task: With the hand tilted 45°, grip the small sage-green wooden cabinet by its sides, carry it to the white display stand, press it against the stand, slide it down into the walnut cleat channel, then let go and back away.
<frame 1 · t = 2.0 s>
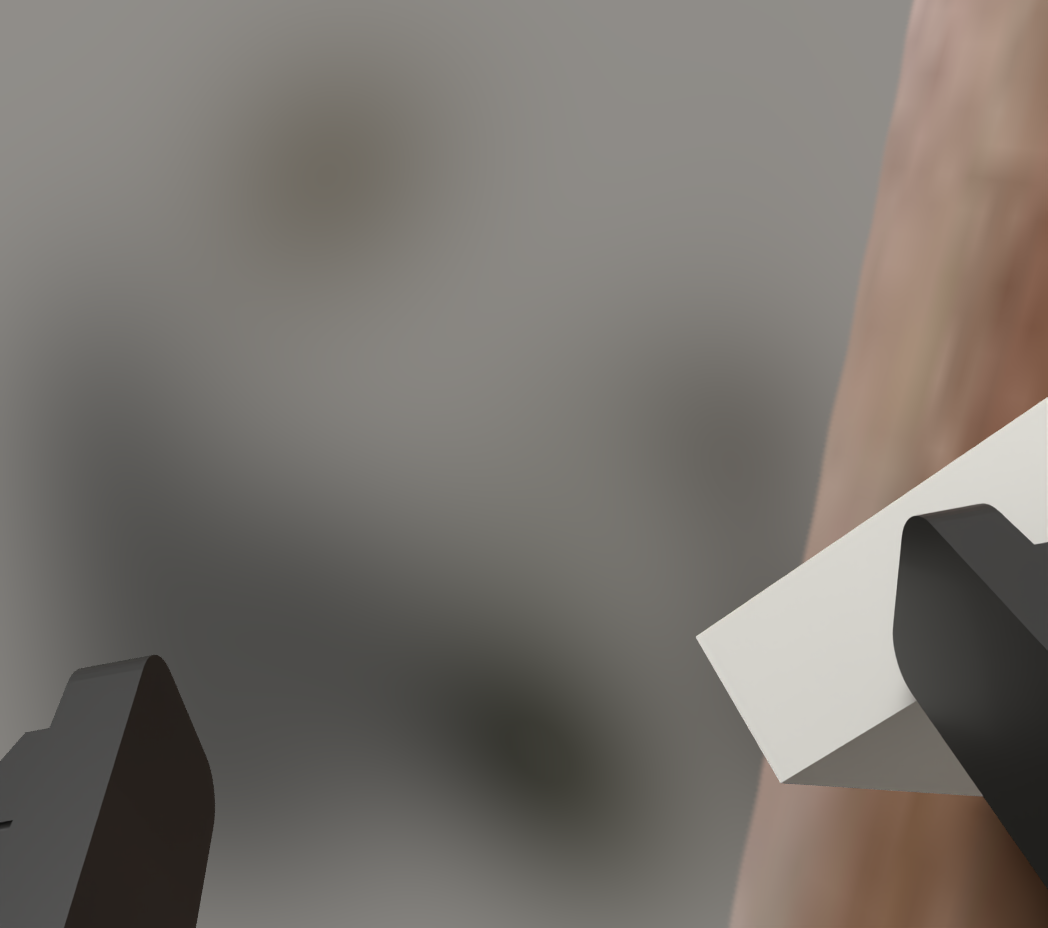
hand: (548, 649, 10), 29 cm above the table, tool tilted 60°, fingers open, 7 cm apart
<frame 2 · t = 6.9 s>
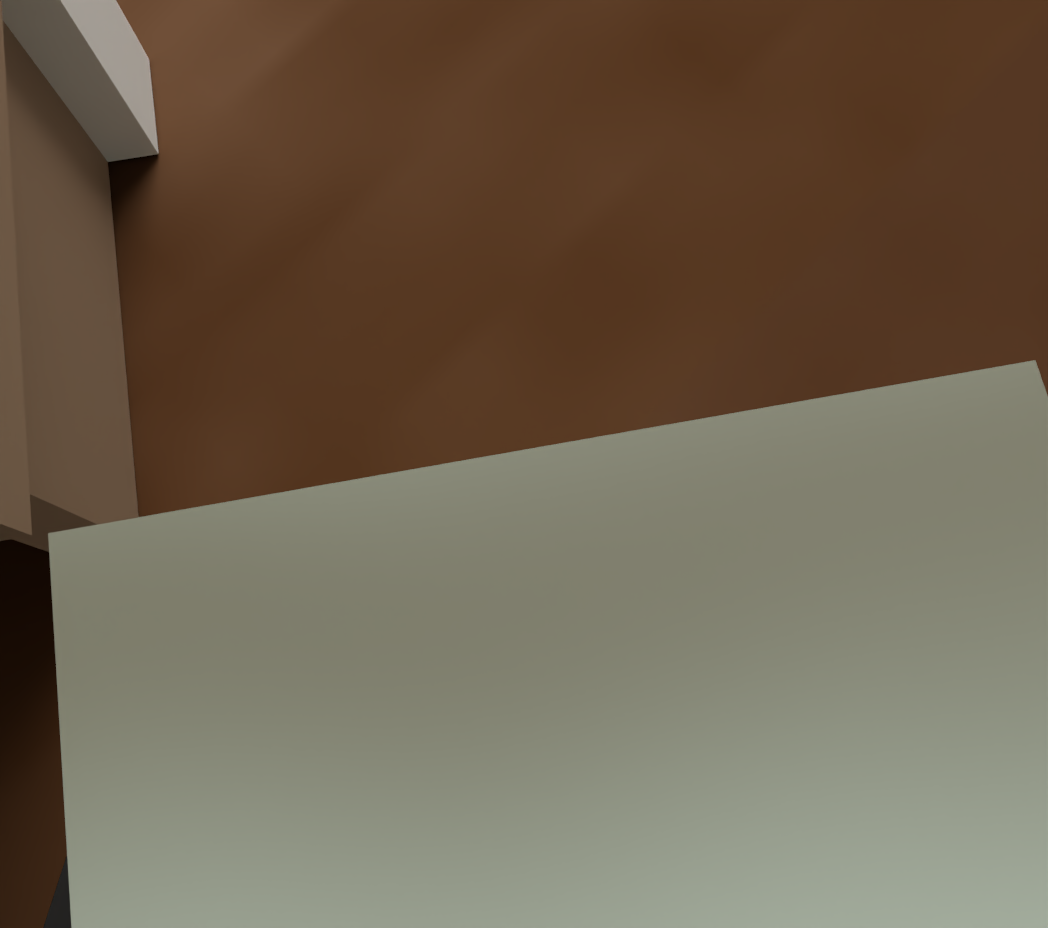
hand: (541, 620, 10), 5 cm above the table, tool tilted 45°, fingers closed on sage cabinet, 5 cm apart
sage cabinet: (556, 765, 14), on the table, touching gripper
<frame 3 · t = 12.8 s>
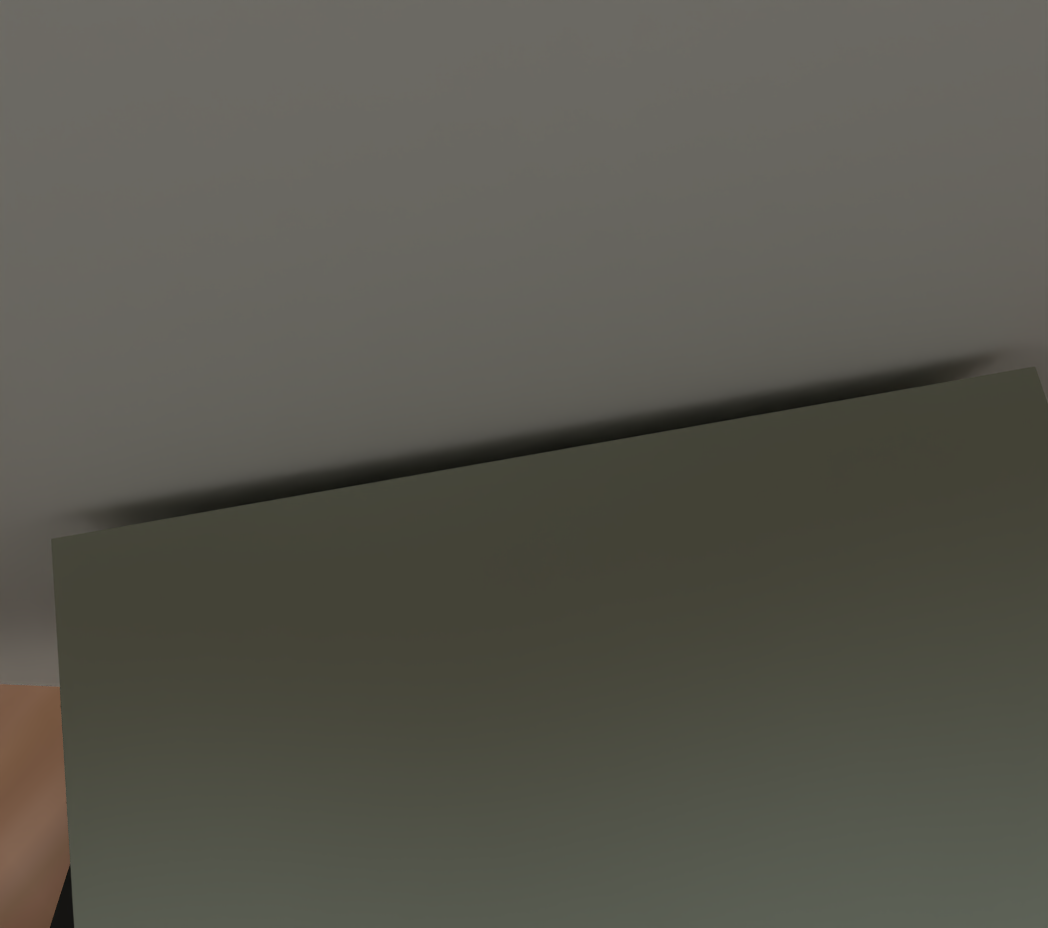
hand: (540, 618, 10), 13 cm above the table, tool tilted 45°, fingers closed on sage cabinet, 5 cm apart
sage cabinet: (556, 767, 14), point 8 cm above the table, touching gripper
white display stand: (545, 749, 22), on the table
when the fingers open (13 cm above the table, at t = 13.0 s): sage cabinet stays where it is, resting on white display stand.
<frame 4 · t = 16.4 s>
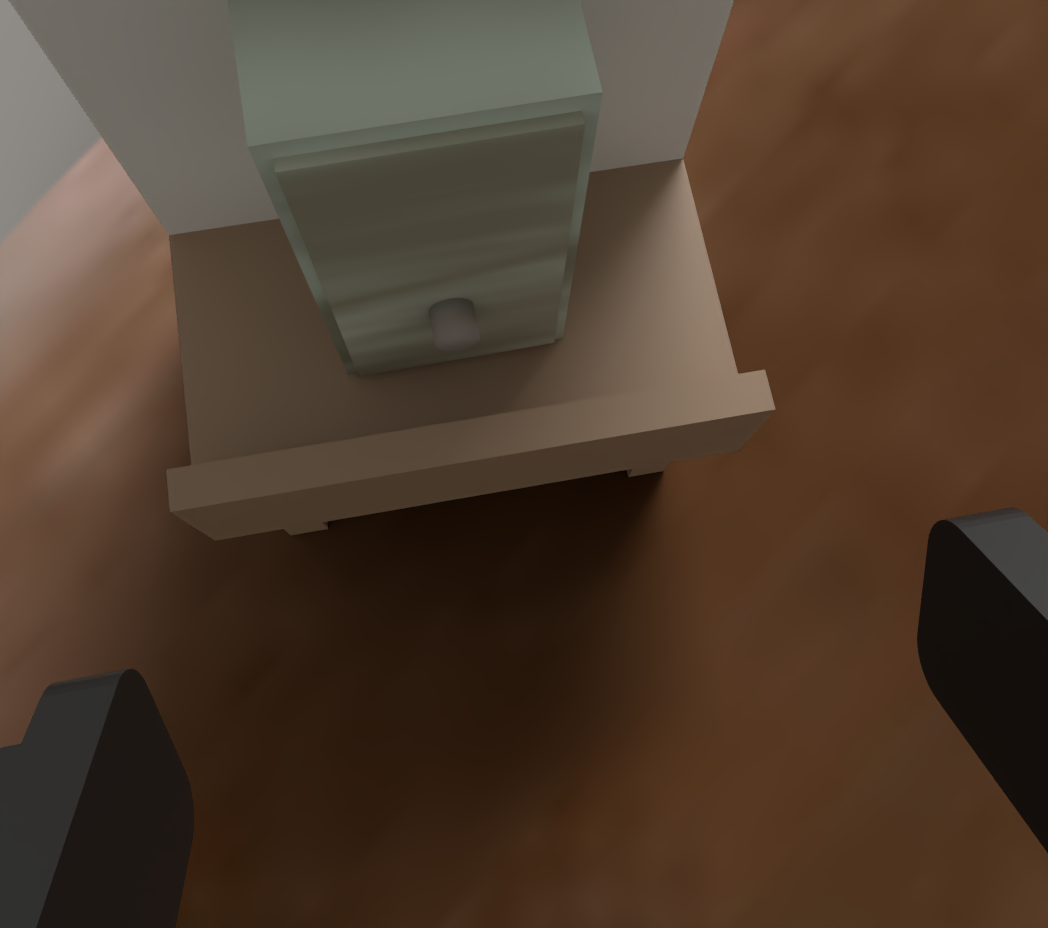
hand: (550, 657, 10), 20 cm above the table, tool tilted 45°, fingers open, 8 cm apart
sage cabinet: (441, 277, 25), point 7 cm above the table, touching white display stand
white display stand: (457, 374, 32), on the table
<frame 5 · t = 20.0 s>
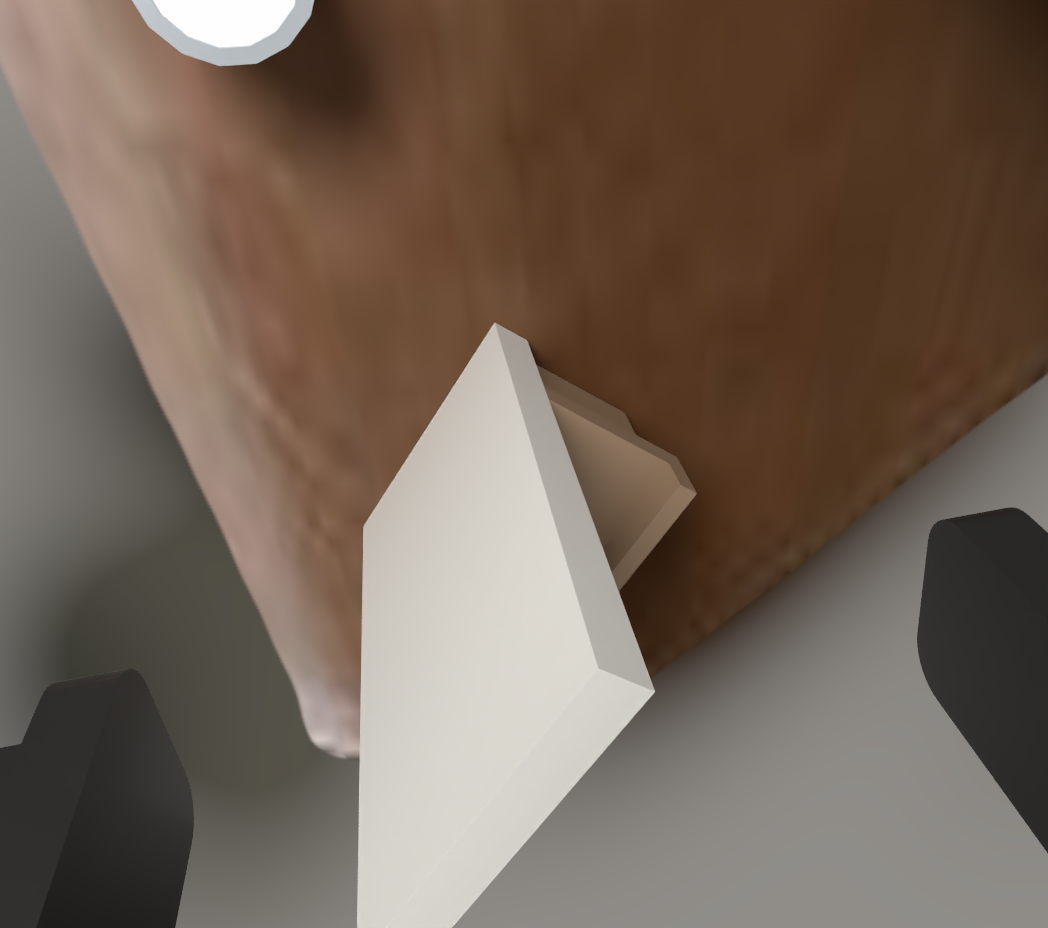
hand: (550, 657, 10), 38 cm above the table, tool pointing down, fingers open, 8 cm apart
white display stand: (497, 464, 53), on the table
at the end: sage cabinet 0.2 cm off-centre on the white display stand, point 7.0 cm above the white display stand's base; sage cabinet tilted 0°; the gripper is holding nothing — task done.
